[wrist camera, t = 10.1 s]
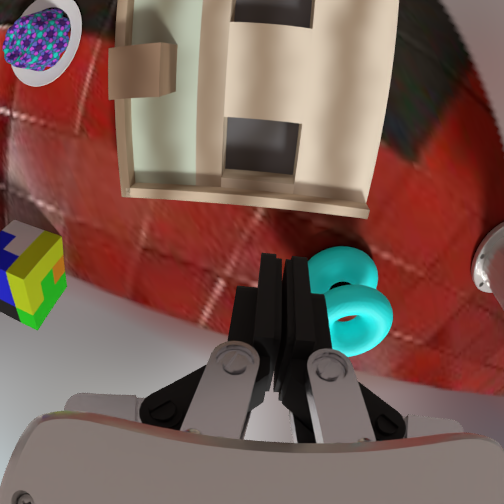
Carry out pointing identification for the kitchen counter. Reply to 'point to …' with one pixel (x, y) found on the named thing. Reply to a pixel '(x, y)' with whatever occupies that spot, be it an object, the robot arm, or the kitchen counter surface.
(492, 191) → the kitchen counter surface
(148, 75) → the walnut block
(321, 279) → the donuts
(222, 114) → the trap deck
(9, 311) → the puzzle toy
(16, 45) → the pudding
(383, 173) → the kitchen counter surface
